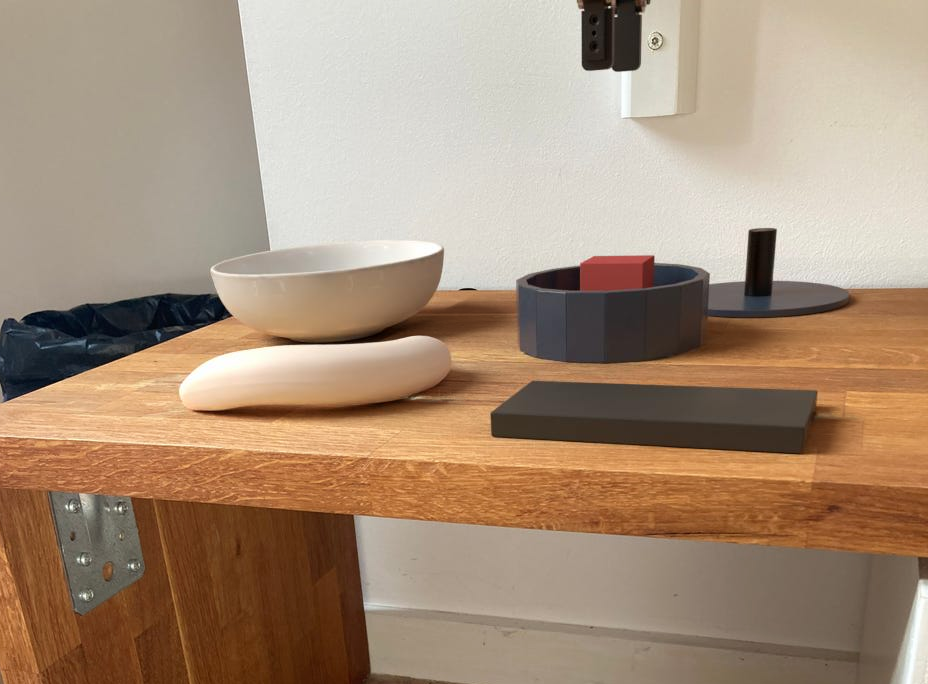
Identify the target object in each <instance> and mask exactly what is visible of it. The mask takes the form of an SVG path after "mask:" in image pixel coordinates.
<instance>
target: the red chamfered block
mask: <svg viewBox="0 0 928 684" xmlns="http://www.w3.org/2000/svg"><path fill="white" fill-rule="evenodd" d="M655 257H656V256H655V255H654V254H653V255H651V254H649V255H648V254H646V255H645V254H644V255H641V254H640V255H593V256H591V257H590V258H588V259H585V260H584V261H582V262H580V264H579V265H580V291H610V290H626V289H642V288H650V287H654V263H655Z"/></svg>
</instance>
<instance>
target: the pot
mask: <svg viewBox="0 0 928 684" xmlns="http://www.w3.org/2000/svg"><path fill="white" fill-rule="evenodd" d="M710 277H711V273H710V272H708V271H707V270H705V269H703V268H702V267H698V266H694V265H693V266H692V265H686V264H681V263H667V262H666V263H664V262H654V287H650V288H642V289H626V290H610V291H580V264H579V265H571V266H565V267H556V268H550V269H544V270H540V271H535V272H531V273H528V274H526V275H523V276H522V277H520V278H518V279H516V280H515V288H516V289H515V293H516V323H517V324H516V325H517V326H516V327H517V344H518V348H519V351H520V352H522V353H523V354H524V355H527V356H528V357H531V358H535V359H539V360H545V361H548V362H549V361H550V362H557V363H568V364H569V363H570V364H585V365H586V364H589V365H590V364H591V365H595V364H597V365H601V364H602V365H603V364H604V365H606V364H627V363H628V364H630V363H640V362H649V361H658V360H663V359H667V358H670V357H673V356H678V355H682V354H684V353H688V352H690V351H693V350H696V349H699V348H701V347H702V346H703V344H705V342H706V341H707V335H708V317H709V316H708V300H709V284H710V282H711V281H710V279H711V278H710Z"/></svg>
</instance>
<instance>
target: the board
mask: <svg viewBox="0 0 928 684" xmlns="http://www.w3.org/2000/svg"><path fill="white" fill-rule="evenodd" d="M818 393H819V391H818V390H815V389H789V388H760V387H759V388H758V387H757V388H756V387H731V386H730V387H728V386H703V385H702V386H699V385H673V384H672V385H669V384H667V385H666V384H643V383H642V384H641V383H613V382H612V383H609V382H583V381H581V382H579V381H555V380H554V381H552V380H549V381H548V380H531V381H530V382H528V383H527V384H526V385H524V386H523V387H522V388H521V389H519V390H518V391H516V393H514V394H512V395H511V396H510V397H509V398H507V399H506V400H505V401H504V402H502V403H501V404H500V405H498V406H497V407H496V408H495V409H493V410H492V411H491V412H490V435H491V437H493V438H496V437H497V438H512V439H528V440H529V439H531V440H550V441H567V442H568V441H570V442H584V443H602V444H622V445H637V446H638V445H639V446H658V447H675V448H694V449H711V450H712V449H713V450H729V451H730V450H731V451H745V452H748V451H749V452H766V453H782V454H798V455H799V454H801V455H802V454H803V453H804V450H805V447H806V444H807V440H808V437H809V435H810V432H811V429H812V426H813V423H814V419H815V417H816V414H817V413H816V410H817V405H818Z"/></svg>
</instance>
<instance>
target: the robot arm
mask: <svg viewBox="0 0 928 684" xmlns="http://www.w3.org/2000/svg"><path fill="white" fill-rule="evenodd" d="M651 1H652V0H576V4H577V8H578V9H579V10H581V14H580V15H581V17H580V19H581V26H580V27H581V33H580V34H581V35H580V36H581V67H582V69H583V70H584V71H587V72H593V71H594V72H595V71H606V70H607V71H608V70H610V69H611V70H612V71H613V72H616V73H620V72H621V73H622V72H635V71H638V70H639V69H640V68H641V65H642V38H643V37H642V36H643V35H642V33H643V30H642V29H643V14H644V13H645V11H646V8H647V6H648V5H650V4H651Z"/></svg>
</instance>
